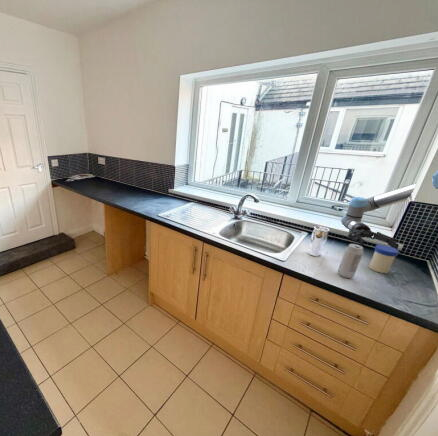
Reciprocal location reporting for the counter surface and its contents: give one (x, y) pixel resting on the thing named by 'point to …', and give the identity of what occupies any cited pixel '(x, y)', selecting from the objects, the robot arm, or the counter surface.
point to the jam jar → (381, 262)
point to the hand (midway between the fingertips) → (379, 245)
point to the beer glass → (318, 240)
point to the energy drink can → (350, 260)
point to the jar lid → (386, 250)
